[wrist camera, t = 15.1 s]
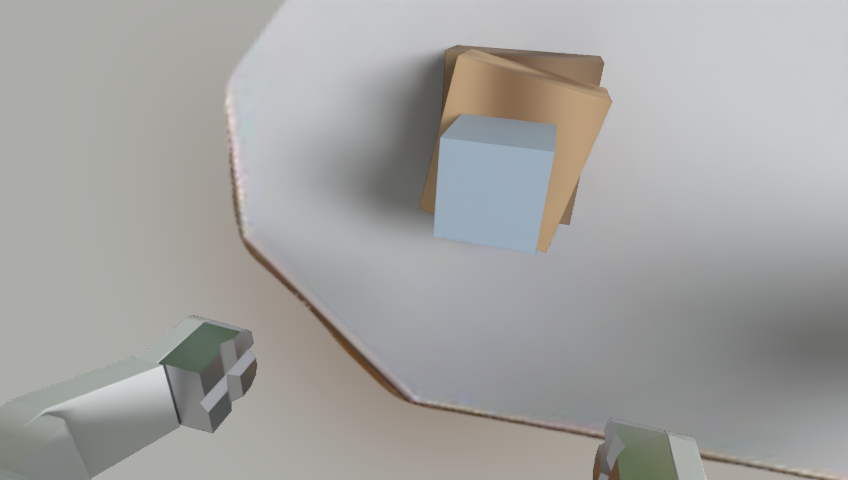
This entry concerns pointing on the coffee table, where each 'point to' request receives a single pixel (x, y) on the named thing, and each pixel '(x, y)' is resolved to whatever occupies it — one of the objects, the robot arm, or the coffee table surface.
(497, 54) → the walnut block
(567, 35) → the coffee table surface
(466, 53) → the teak block
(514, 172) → the slate cube
